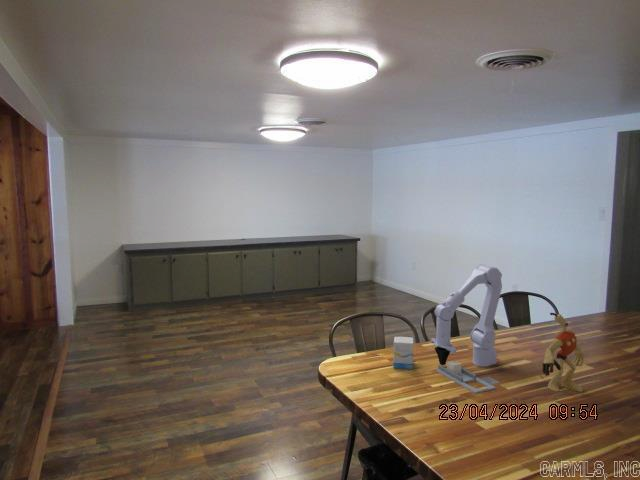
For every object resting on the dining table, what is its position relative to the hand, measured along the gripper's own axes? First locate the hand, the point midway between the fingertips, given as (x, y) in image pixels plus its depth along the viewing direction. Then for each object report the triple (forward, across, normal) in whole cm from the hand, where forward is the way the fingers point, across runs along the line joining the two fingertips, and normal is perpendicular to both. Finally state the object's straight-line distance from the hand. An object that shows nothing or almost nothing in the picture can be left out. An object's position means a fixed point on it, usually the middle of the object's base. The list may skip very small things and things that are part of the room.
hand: (442, 364), depth 187 cm
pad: (+3, +18, +8) cm, 20 cm away
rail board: (+3, +13, 0) cm, 14 cm away
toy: (+3, +34, +27) cm, 44 cm away
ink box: (+3, -12, -12) cm, 17 cm away
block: (+1, +7, 0) cm, 7 cm away
